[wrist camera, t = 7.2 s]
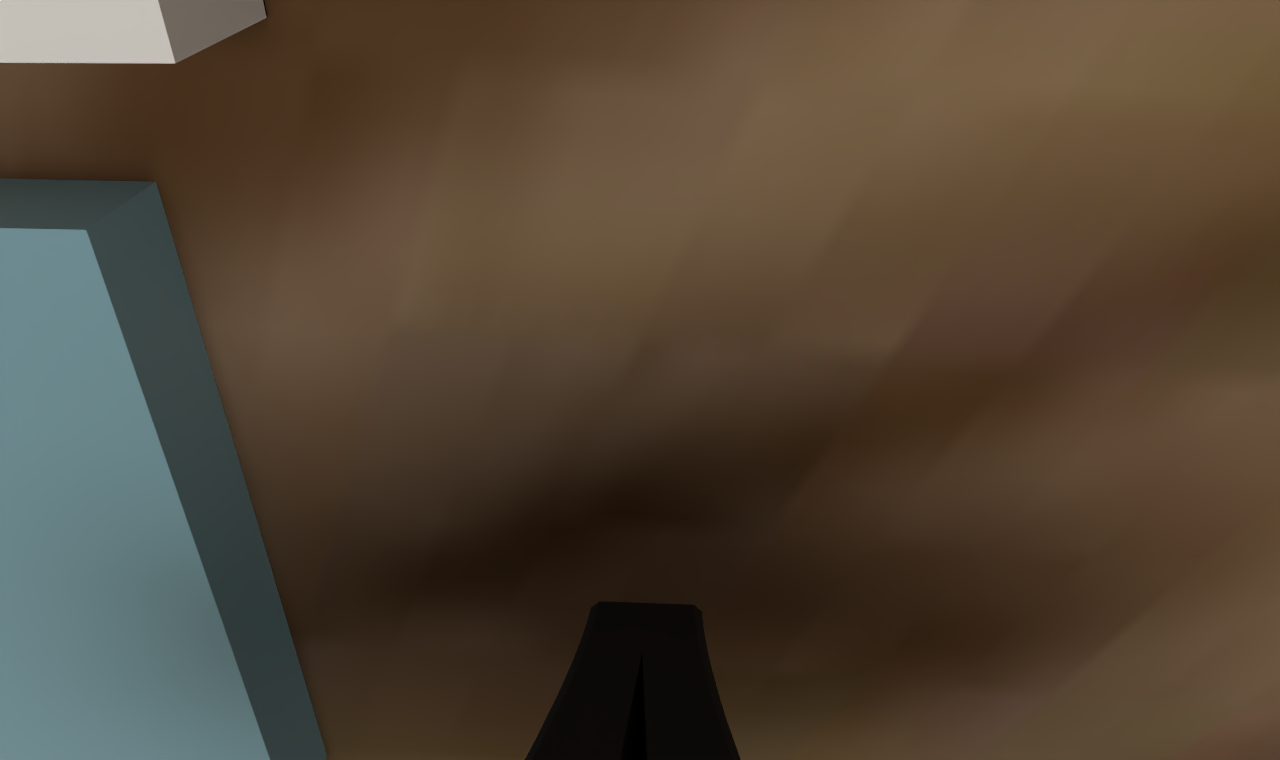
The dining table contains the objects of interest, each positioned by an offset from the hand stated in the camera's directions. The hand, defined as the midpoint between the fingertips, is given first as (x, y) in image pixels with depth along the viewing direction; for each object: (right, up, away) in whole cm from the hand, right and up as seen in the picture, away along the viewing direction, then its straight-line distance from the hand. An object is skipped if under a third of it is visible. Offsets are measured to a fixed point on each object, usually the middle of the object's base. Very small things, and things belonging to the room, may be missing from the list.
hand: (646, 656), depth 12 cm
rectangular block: (-9, +2, +2) cm, 10 cm away
